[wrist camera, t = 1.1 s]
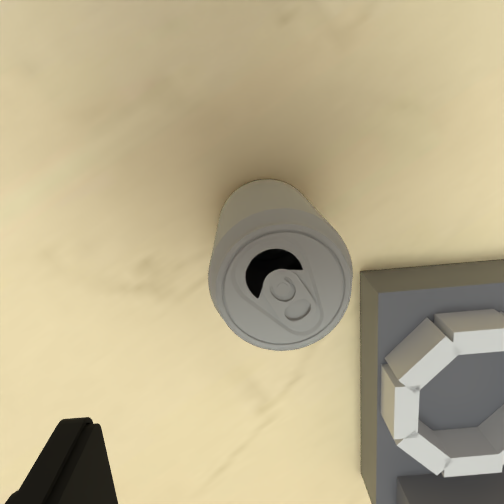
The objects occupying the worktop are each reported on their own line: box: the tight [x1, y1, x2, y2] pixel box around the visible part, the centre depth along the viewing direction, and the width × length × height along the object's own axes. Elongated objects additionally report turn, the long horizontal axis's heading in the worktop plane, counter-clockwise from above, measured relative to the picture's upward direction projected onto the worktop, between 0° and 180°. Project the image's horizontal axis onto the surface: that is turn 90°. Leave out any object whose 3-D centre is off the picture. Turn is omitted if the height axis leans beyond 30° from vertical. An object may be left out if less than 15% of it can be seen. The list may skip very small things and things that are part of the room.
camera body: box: [360, 260, 504, 504], centre depth 29 cm, size 18×11×8 cm, turn 5°
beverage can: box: [208, 179, 353, 351], centre depth 23 cm, size 6×6×12 cm
